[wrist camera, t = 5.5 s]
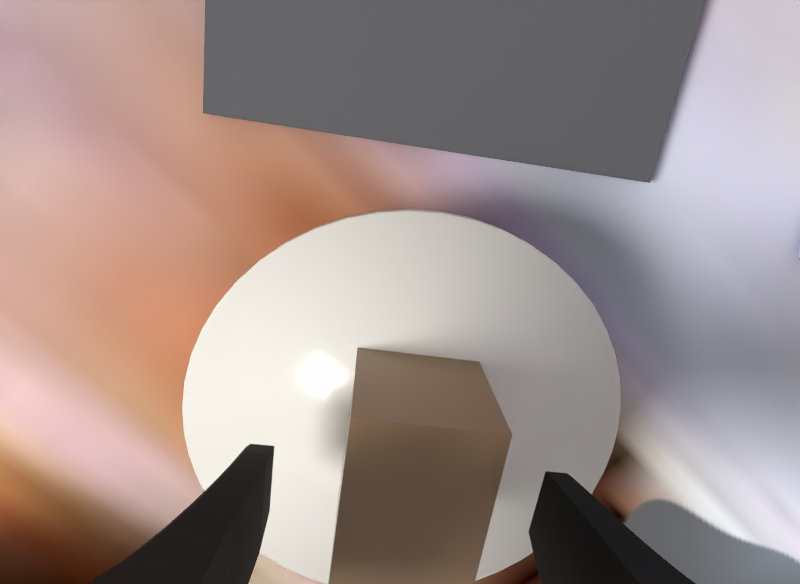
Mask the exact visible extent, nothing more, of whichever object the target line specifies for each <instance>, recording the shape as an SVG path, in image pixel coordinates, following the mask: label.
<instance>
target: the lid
mask: <svg viewBox="0 0 800 584" xmlns="http://www.w3.org/2000/svg"><path fill="white" fill-rule="evenodd" d="M620 409H621V386H620V375H619V369H618V364H617V359H616V354H615V351H614V348H613V345H612V342H611V340H610V337H609V334H608V331H607V329H606V327H605V325H604V323H603V321H602V319H601V318H600V316H599V314H598V312H597V310H596V308H595V307H594V305H593V304H592V302H591V301H590V300H589V298H588V297H587V296H586V294H585V293H584V292H583V290H582V289H581V288H580V287H579V285H578V284H577V283H576V282H575V281H574V280H573V279H572V278H571V277H570V276H569V275H568V274H567V273H566V272H565V271H564V270H563V269H562V268H561V267H560V266H559V265H558V264H557V263H555V262H554V261H553V260H551V259H550V258H548V257H547V256H546V255H544V254H543V253H541V252H540V251H539V250H537V249H536V248H534V247H533V246H532V245H530V244H529V243H527V242H526V241H524V240H522V239H520V238H518V237H516V236H515V235H513V234H511V233H509V232H507V231H505V230H503V229H501V228H499V227H496V226H494V225H491V224H488V223H485V222H482V221H480V220H477V219H474V218H471V217H467V216H462V215H457V214H453V213H448V212H443V211H434V210H421V209H394V210H377V211H372V212H367V213H361V214H356V215H351V216H346V217H343V218H340V219H337V220H334V221H331V222H328V223H325V224H322V225H319V226H316V227H314V228H312V229H310V230H308V231H306V232H304V233H302V234H300V235H298V236H296V237H294V238H292V239H290V240H288V241H286V242H285V243H283V244H282V245H280V246H279V247H277V248H276V249H274V250H273V251H272V252H270V253H269V254H267V255H266V256H264V257H263V258H262V259H261V260H260V261H258V262H257V263H256V264H255V265H254V266H253V267H252V268H251V269H249V270H248V271H247V272H246V273H245V274H244V275H243V276H242V277H241V278H240V279H239V280H238V281H237V282H236V283H235V284H234V285H233V286H232V288H231V289H230V290H229V291H228V292H227V294H226V295H225V296H224V297H223V298H222V300H221V301H220V302H219V303H218V304H217V306H216V307H215V309H214V310H213V312H212V314H211V315H210V317H209V319H208V320H207V322H206V324H205V325H204V327H203V329H202V330H201V333H200V335H199V337H198V340H197V342H196V345H195V347H194V349H193V352H192V354H191V357H190V361H189V365H188V370H187V374H186V378H185V382H184V394H183V405H182V410H183V425H184V435H185V439H186V444H187V448H188V453H189V457H190V460H191V462H192V465H193V467H194V470H195V473H196V475H197V478H198V480H199V482H200V484H201V486H202V487H203V489H204V491H205V490H206V489H207V488H208V487H209V486H210V485H211V484H212V483H213V482H214V481H215V480H216V479H217V478H218V477H219V476H220V475H221V474H222V473H223V472H224V471H225V470H226V469H227V468H228V467H229V466H230V464H231V463H232V462H233V461H234V460H235V459H236V458H237V457H238V455H239V454H240V453H241V452H242V451H243V450H244V448H245V447H246V446H248V445H249V444H259V445H270V446H274V458H273V472H272V485H271V499H270V511H269V515H268V520H267V524H266V528H265V532H264V536H263V540H262V544H261V548H260V553H261V554H263V555H265V556H266V557H268V558H270V559H271V560H273V561H274V562H276V563H278V564H279V565H281V566H283V567H285V568H287V569H289V570H291V571H293V572H296V573H298V574H300V575H302V576H304V577H307V578H310V579H313V580H316V581H319V582H321V583H324V584H474V583H475V581H476V580H479V579H481V578H484V577H486V576H489V575H492V574H494V573H497V572H499V571H501V570H503V569H505V568H507V567H509V566H511V565H513V564H514V563H516V562H518V561H520V560H522V559H523V558H525V557H526V556H528V555H529V554H531V553H532V552H533V550H532V545H531V541H530V536H529V528H530V524H531V521H532V517H533V514H534V510H535V507H536V503H537V500H538V496H539V493H540V489H541V486H542V482H543V479H544V475H545V472H546V471H549V472H559V473H568V474H569V475H570V476H571V477H573V478H574V479H575V480H576V481H577V482H578V483H579V484H581V485H582V486H583V487H584V488H585V489H586V490H587V491H588V492H589V493H590V494H592V492H593V490H594V489H595V487H596V485H597V483H598V482H599V480H600V478H601V476H602V475H603V473H604V470H605V468H606V465H607V463H608V461H609V458H610V456H611V453H612V451H613V447H614V443H615V439H616V435H617V431H618V427H619V418H620Z"/></svg>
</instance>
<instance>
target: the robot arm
mask: <svg viewBox="0 0 800 584" xmlns="http://www.w3.org/2000/svg"><path fill="white" fill-rule="evenodd" d="M798 258H799V259H800V247H799V250H798ZM273 458H274V446H270V445H259V444H249V445H248V446H246V447H245V448H244V450H243V451H242V452H241V453H240V454H239V455H238V457H237V458H236V459H235V460H234V461H233V462H232V463H231V464H230V466H229V467H228V468H227V469H226V470H225V471H224V472H223V473H222V474H221V475H220V476H219V477H218V478H217V479H216V480H215V481H214V482H213V483H212V484H211V485H210V486H209V487H208V488H207V489H206V490H205V491H204V492H203V493H202V494H201V495H200V496H199V497H198V498H197V499H196V500H195V501H194V502H193V503H192V504H191V505H190V506H189V507H187V508H186V509H185V510H184V511H183V512H182V513H181V514H180V515H179V516H177V517H176V518H175V519H174V520H173V521H172V522H171V523H170V524H168V525H167V526H166V527H165V528H164V529H163V530H161V531H160V532H159V533H158V534H156V535H155V536H154V537H153V538H152V539H150V540H149V541H148V542H146V543H145V544H144V545H143V546H141V547H140V548H139V549H137V550H136V551H135V552H133V553H132V554H131V555H129V556H128V557H127V558H125V559H124V560H122V561H121V562H120V563H118V564H117V565H115V566H114V567H112V568H111V569H110V570H108V571H107V572H105V573H104V574H102V575H101V576H99V577H98V578H96V579H95V580H93V581H92V582H90V583H89V584H248V583H249V580H250V577H251V574H252V572H253V569H254V566H255V563H256V560H257V558H258V555H259V552H260V548H261V544H262V540H263V536H264V532H265V528H266V524H267V520H268V515H269V511H270V499H271V485H272V472H273ZM529 536H530V541H531V545H532V550H533V554H534V558H535V562H536V566H537V570H538V573H539V576H540V579H541V581H542V584H695V583H694V582H693V581H691V580H690V579H688V578H687V577H686V576H685V575H683V574H682V573H681V572H679V571H678V570H677V569H676V568H674V567H673V566H672V565H671V564H669V563H668V562H667V561H666V560H664V559H663V558H662V557H661V556H660V555H658V554H657V553H656V552H655V551H654V550H653V549H651V548H650V547H649V546H648V545H646V544H645V543H644V542H643V541H642V540H641V539H640V538H639V537H637V536H636V535H635V534H634V533H633V532H632V531H630V530H629V529H628V528H627V527H626V526H625V525H624V524H623V523H622V522H621V521H620V520H618V519H617V518H616V517H615V516H614V515H613V514H612V513H611V512H610V511H609V510H608V509H607V508H605V507H604V506H603V505H602V504H601V503H600V502H599V501H598V500H597V499H596V498H595V497H594V496H593V495H591V494H590V493H589V492H588V491H587V490H586V489H585V488H584V487H583V486H582V485H581V484H579V483H578V482H577V481H576V480H575V479H574V478H573V477H571V476H570V475H569V474H568V473H559V472H549V471H546V472H545V475H544V479H543V482H542V486H541V489H540V493H539V496H538V500H537V503H536V507H535V510H534V514H533V517H532V521H531V524H530V528H529Z"/></svg>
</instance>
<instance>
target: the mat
mask: <svg viewBox="0 0 800 584" xmlns="http://www.w3.org/2000/svg"><path fill="white" fill-rule="evenodd" d="M704 1H705V0H205V46H204V95H203V113H205V114H211V115H218V116H224V117H231V118H237V119H243V120H250V121H256V122H263V123H269V124H276V125H282V126H288V127H295V128H301V129H308V130H314V131H321V132H327V133H333V134H340V135H346V136H353V137H359V138H366V139H372V140H379V141H385V142H391V143H398V144H404V145H411V146H417V147H424V148H430V149H436V150H443V151H449V152H456V153H462V154H469V155H475V156H481V157H488V158H494V159H501V160H507V161H514V162H520V163H526V164H533V165H539V166H546V167H552V168H559V169H565V170H571V171H578V172H584V173H591V174H597V175H604V176H610V177H617V178H623V179H629V180H636V181H642V182H649V183H650V180H651V177H652V173H653V170H654V167H655V163H656V160H657V157H658V153H659V150H660V147H661V143H662V140H663V137H664V133H665V130H666V127H667V124H668V120H669V117H670V114H671V110H672V107H673V104H674V100H675V97H676V94H677V90H678V87H679V84H680V81H681V77H682V74H683V71H684V67H685V64H686V61H687V57H688V54H689V51H690V47H691V44H692V41H693V38H694V34H695V31H696V28H697V24H698V21H699V18H700V14H701V11H702V8H703V4H704Z"/></svg>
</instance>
